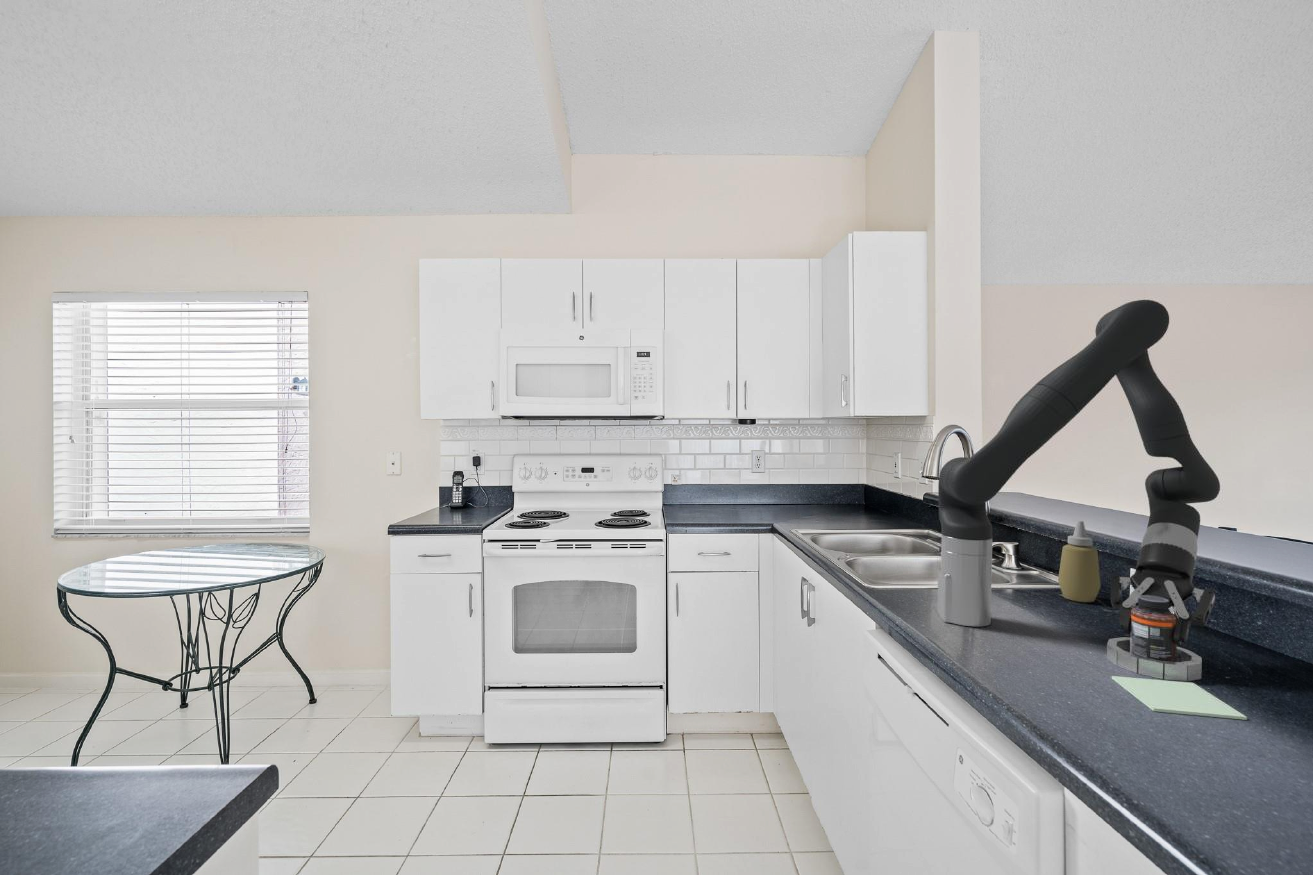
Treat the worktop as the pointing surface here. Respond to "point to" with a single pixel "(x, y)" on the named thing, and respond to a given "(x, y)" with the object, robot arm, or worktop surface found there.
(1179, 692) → the mat
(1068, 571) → the squeeze bottle
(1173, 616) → the supplement bottle
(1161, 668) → the holder ring
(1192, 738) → the worktop surface
